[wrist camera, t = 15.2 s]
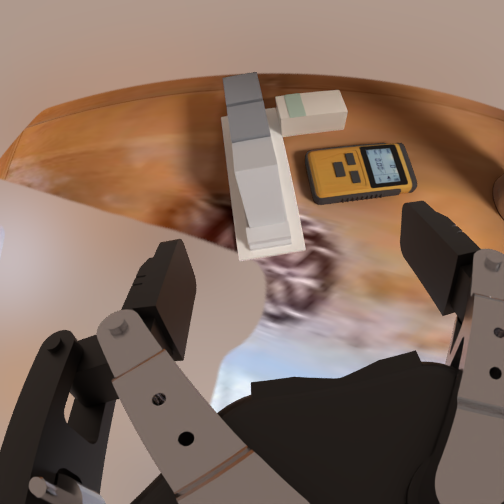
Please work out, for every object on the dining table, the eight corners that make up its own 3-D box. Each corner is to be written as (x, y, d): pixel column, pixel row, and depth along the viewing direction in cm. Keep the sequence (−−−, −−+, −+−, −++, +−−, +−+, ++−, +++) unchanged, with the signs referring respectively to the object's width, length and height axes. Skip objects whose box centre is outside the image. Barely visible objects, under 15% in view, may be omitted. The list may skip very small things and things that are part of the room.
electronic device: (303, 158, 45) (303, 147, 42) (396, 149, 44) (402, 137, 41) (314, 209, 43) (315, 200, 40) (412, 196, 42) (420, 187, 39)
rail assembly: (275, 109, 47) (270, 60, 36) (305, 250, 42) (311, 225, 30) (221, 119, 48) (205, 72, 37) (239, 261, 42) (221, 239, 31)
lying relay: (335, 108, 46) (339, 89, 41) (343, 130, 45) (347, 111, 40) (276, 115, 47) (275, 96, 42) (282, 137, 46) (280, 118, 41)
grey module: (278, 193, 42) (270, 136, 34) (284, 222, 40) (277, 164, 31) (245, 199, 43) (231, 143, 34) (249, 228, 40) (233, 172, 31)
